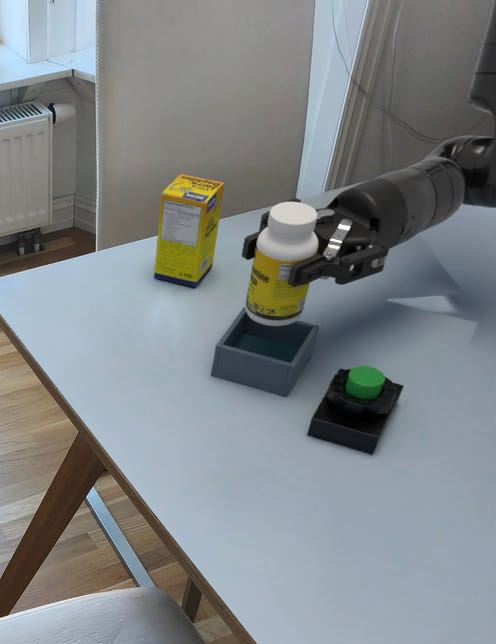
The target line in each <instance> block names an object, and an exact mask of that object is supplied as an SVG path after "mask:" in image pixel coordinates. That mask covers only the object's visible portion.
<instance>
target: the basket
mask: <svg viewBox="0 0 496 644" xmlns="http://www.w3.org/2000/svg"><path fill="white" fill-rule="evenodd" d="M320 327H321V326H320V325H318V324H314V323H310V322H306V321H303V320H299V319H298V320H296V321H295V322H293V323H291V324H288V325H284V326H269V325H264V324H261V323H258V322H256V321H254V320H252V319H251V318H250V317H249V316H248V314H247V312H246V308H245V306H243V308H242V309H241V310H240V312H239V313H238V314H237V316H236V317H235V319H233V321H232V323H231V324H230V325H229V327H227V329H226V331H225V332H224V334H223V335H222V336H221V338H220V340H219V341H218V342H217V343H216V345H215V347H214V348H215V349H214V354H213V360H212V366H211V371H210V375H211V376H213V377H215V378H220V379H223V380H227V381H230V382H233V383H237V384H240V385H241V384H242V385H244V386H249V387H252V388H256V389H258V390H263V391H266V392H269V393H273V394H277V395H280V396H284V397H288V396H289V394H290V392H291V391H292V389H293V388H294V386H295V384H296V383H297V381H298V379H299V378H300V376H301V374H302V372H303V371H304V369H305V368H306V366H307V364H308V363H309V361H310V359H311V358H312V356H313V353H314V349H315V346H316V341H317V338H318V334H319V330H320Z"/></svg>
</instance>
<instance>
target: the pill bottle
mask: <svg viewBox="0 0 496 644" xmlns="http://www.w3.org/2000/svg"><path fill="white" fill-rule="evenodd" d="M315 209H316V208H314V207H313V206H311V205H309V204H306V203H303V202H301V203H299V202H287V201H284V202H280V203H277V204H275V205H273V206H272V207H271V209H270V210H269V211H270V213H269V218H268V227H267V228H265V229H264V230H263V231H262V232H261V233H260V235H259V237H258V239H257V243H256V249H255V254H254V258H253V260H252V266H251V271H250V272H251V273H250V276H249V282H248V289H247V293H246V299H245V305H244V307H245V308H246V312H247V314H248V316H249V317H250V318H251V319H252V320H254V321H256V322H258V323H261V324H264V325H269V326H284V325H288V324H291V323H293V322H295V321H296V320H298V321H299V319H300V318H301V316H302V314H303V311H304V308H305V305H306V300H307V296H308V291H309V289H310V288H309V287H310V283H311V282H309V283H308V284H306V285H299V286H297V287H292V286H290V285H289V284H288V279H289V274H290V270H291V268H292V266H293V265H294V264H296V263H298V262H301V261H303V260H305V259H308V258H310V257H312V256H314V255H316V254H317V249H318V239H317V236H316V234H315V233H314V232H313V231H314V228H315V225H316V220H317V212H316V210H315Z"/></svg>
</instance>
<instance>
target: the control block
mask: <svg viewBox="0 0 496 644" xmlns="http://www.w3.org/2000/svg"><path fill="white" fill-rule="evenodd" d="M352 369H353V368H348V369H344V368H339V369H338V370H337V372H336V374H334V375H333V377H332V379H331V381H330V383H329V386H328V388H327V389H326V393H325V394H324V396H323V397H322V399H321V401H320V403H319V405H318V406H317V407H316V410H315V412H314V413H313V415H312V417H311V420H310V423H309V426H308V430H307V434H306V435H307V436H309V437H313V438H316V439H320V440H323V441H327V442H331V443H333V444H336V445H339V446H343V447H346V448H350V449H354V450H357V451H361V452H364V453H366V454H370V455H374V454H375V451H376V449H377V447H378V445H379V442H380V441H381V438H382V436H383V435H384V432H385V430H386V428H387V426H388V424H389V422H390V420H391V418H392V416H393V413H394V412H395V409H396V407H397V406H398V403H399V400H400V398H401V395H402V392H403V389H404V385H403V384H400V383H396V382H393V380H392V379H390V378H388V377H386V376H385V381H384V384H383V387H382V390H381V393H380V395H379V396H378V397H377V398H375V399H361V398H357V397H353V396H351V395H350V394H348V393H347V392H346V391H345V385H346V381H347V378H348V375H349V372H350V371H351V370H352Z"/></svg>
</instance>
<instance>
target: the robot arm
mask: <svg viewBox="0 0 496 644" xmlns="http://www.w3.org/2000/svg"><path fill="white" fill-rule="evenodd" d="M468 103H469V105H470V106H471V107H472V108H474V109H476V110H479V111H480V112H485V113H487V114H490V115H491V116H492V119H493V125H494V126H493V127H494V135H493V136H484V135H461V136H456V137H453V138H450V139H448V140H445V141H444V142H442V143H440V144H439V145H438V146H437V147H436V148H435V149H433V151H431V152H430V153H429V154H427V156H425V158H424V159H422V160H421V161H419V162H416V163H414V164H411V165H409V166H407V167H404V168H402V169H397V170H393V171H388V172H385V173H383V174H381V175H378V176H376V177H374V178H371V179H369V180H366V181H364V182H362V183H359V184H356V185H355V186H352V187H349V188H347V189H345V190H342V191H341V192H340V193H338V194H337V195H336V196H335V197H334V198H333V199H332V200H331V201H330V202H329V204H328V205H327V206H325V207H323V208H322V207H321V208H314V209H315V210H316V212H317V220H316V225H315V228H314V231H313V232H314V233H315V234H316V236H317V239H318V249H317V254H316V255H314V256H312V257H310V258H308V259H305V260H303V261H301V262H298V263H296V264H294V265H293V266H292V268H291V270H290V274H289V279H288V284H289V285H290V286H292V287H297V286H299V285H306V284H308V283H309V282H310V283H312V282H314V281H316V280H318V279H320V280H328V279H330V278H333V279H334V283H335V284H336V285H338V286H339V285H340V286H342V285H343V286H344V285H346V284H350V283H353V282H355V281H359V280H362V279H364V278H367V277H370V276H373V275H376V274H379V273H382V272H383V271H384V269H385V265H386V262H387V259H388V257H389V256H388V255H389V253H390V250H391V249H393V248H395V247H397V246H400V245H402V244H404V243H406V242H407V241H409V240H411V239H412V238H414V237H415V236H417V235H418V234H420V233H423V232H425V231H427V230H429V229H431V228H433V227H435V226H437V225H440V224H442V223H444V222H445V221H447V220H449V219H450V218H451V217H453V216H454V215H455V213H457V212H458V210H459V209H460V207H461V206H462V205H465V206H471V207H481V208H488V209H496V0H493V1H492V5H491V10H490V14H489V18H488V22H487V26H486V29H485V33H484V36H483V40H482V43H481V46H480V51H479V54H478V58H477V61H476V65H475V69H474V71H473V76H472V79H471V83H470V87H469V91H468ZM286 202H299V203H302V200H301V199H300V198H296V197H295V198H291V199H289V200H286ZM269 213H270V210H268V211H266V212H264V213H262V215H261V217H260V223H259V228H258V231H256V232H253V233H251V234H250V235H247V236H246V237H245V238H244V241H243V245H242V251H241V257H242V258H243V259H245V260H246V261H249V260H252V259H254V254H255V249H256V243H257V239H258V237H259V235H260V233H261V232H262V231H263V230H264V229H265V228H267V227H268V218H269ZM352 266H353V267H352ZM351 268H352V269H351ZM310 283H309V284H310Z"/></svg>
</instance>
